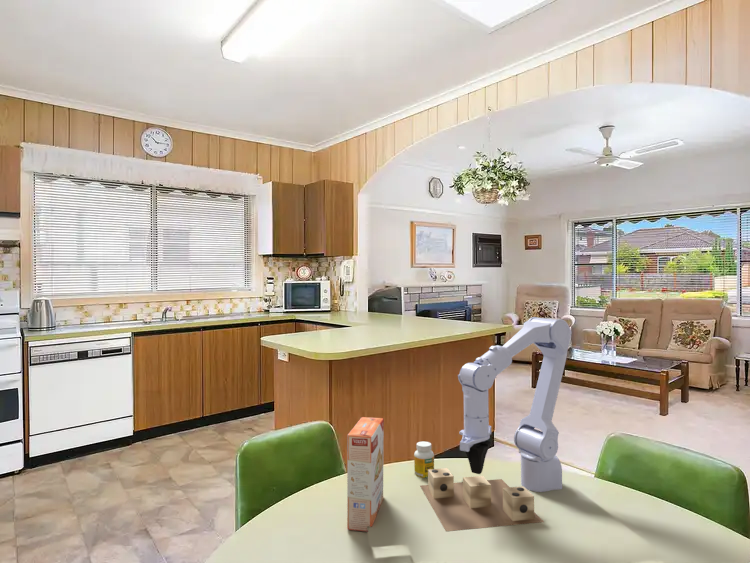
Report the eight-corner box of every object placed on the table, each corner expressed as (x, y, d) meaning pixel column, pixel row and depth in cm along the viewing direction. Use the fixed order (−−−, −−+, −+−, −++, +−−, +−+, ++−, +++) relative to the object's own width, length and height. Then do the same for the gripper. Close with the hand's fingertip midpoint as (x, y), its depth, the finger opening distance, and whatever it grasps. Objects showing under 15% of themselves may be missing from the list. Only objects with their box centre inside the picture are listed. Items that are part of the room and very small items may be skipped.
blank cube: (483, 496, 114) (482, 475, 114) (491, 506, 109) (491, 484, 109) (463, 498, 113) (462, 477, 113) (470, 508, 108) (470, 486, 108)
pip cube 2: (523, 508, 108) (523, 485, 108) (534, 519, 103) (534, 495, 103) (503, 509, 107) (502, 487, 107) (512, 521, 102) (512, 497, 102)
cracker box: (373, 533, 100) (372, 436, 100) (346, 531, 102) (345, 434, 101) (385, 502, 114) (384, 416, 114) (361, 500, 115) (360, 415, 115)
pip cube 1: (447, 487, 118) (447, 467, 118) (453, 497, 113) (453, 476, 113) (428, 489, 118) (428, 469, 118) (433, 498, 113) (433, 477, 113)
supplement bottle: (423, 473, 131) (422, 438, 131) (438, 479, 127) (438, 443, 127) (410, 479, 127) (410, 443, 127) (425, 485, 124) (425, 448, 123)
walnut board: (501, 484, 123) (501, 479, 123) (544, 528, 102) (544, 521, 102) (419, 491, 120) (419, 485, 120) (445, 538, 98) (445, 531, 98)
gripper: (472, 405, 119) (472, 458, 119) (447, 420, 107) (447, 479, 107) (499, 409, 115) (499, 464, 115) (476, 425, 103) (477, 487, 103)
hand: (476, 472), depth 111 cm, fingers closed
